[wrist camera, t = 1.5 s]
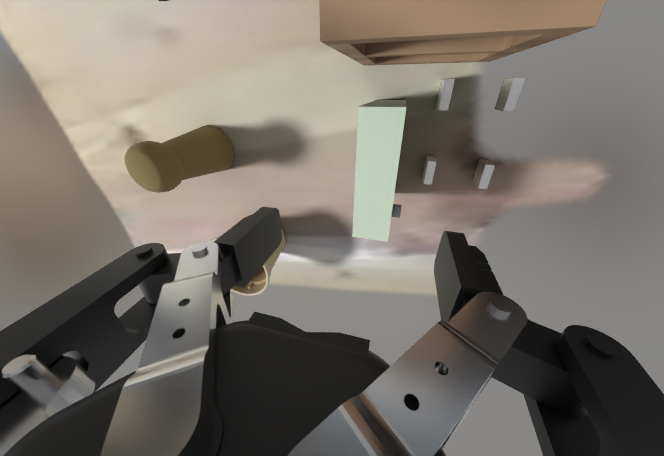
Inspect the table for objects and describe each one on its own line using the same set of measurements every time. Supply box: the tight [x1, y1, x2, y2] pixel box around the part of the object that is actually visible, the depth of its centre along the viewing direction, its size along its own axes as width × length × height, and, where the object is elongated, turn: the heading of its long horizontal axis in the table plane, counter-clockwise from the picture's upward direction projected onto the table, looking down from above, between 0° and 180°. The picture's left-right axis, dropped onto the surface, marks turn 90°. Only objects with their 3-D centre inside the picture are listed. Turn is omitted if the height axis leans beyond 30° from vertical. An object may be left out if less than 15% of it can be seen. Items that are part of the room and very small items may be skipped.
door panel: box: [352, 100, 407, 242], centre depth 22 cm, size 10×4×11 cm, turn 0°
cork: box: [125, 125, 235, 193], centre depth 28 cm, size 6×6×11 cm
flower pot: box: [209, 229, 286, 296], centre depth 34 cm, size 9×9×9 cm
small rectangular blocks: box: [422, 78, 525, 189], centre depth 23 cm, size 9×6×2 cm, turn 0°
